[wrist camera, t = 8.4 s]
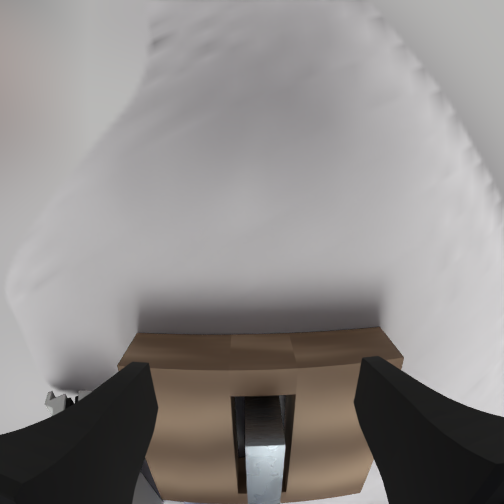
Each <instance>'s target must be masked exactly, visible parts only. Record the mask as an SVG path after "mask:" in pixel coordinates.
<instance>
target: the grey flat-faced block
mask: <svg viewBox="0 0 504 504" xmlns="http://www.w3.org/2000/svg"><path fill="white" fill-rule="evenodd" d="M245 453H246V475H247V496H248V504H280V499H281V489H282V479H283V468H284V457H285V438H284V431H283V423H282V416H281V409H280V402H279V395H272V396H245Z"/></svg>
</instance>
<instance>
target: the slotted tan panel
mask: <svg viewBox="0 0 504 504" xmlns="http://www.w3.org/2000/svg"><path fill="white" fill-rule="evenodd" d="M372 356H379V357H381V358H383V359H385V360H386V361H388V362H389V363H391V364H392V365H394V366H396V367H397V368H399V369H400V370H401V368H402V364H403V360H404V357H403V356H402V354H401V353H400V352H399V350H398V349H397V348H396V347H395V345H394V344H393V343H392V341H391V340H390V339H389V338H388V336H387V335H386V334H385V333H384V331H383V330H382V329H381V328H380V327H373V328H362V329H350V330H336V331H320V332H302V333H278V334H235V335H197V334H154V333H137V334H136V336H135V337H134V339H133V341H132V342H131V344H130V345H129V347H128V349H127V350H126V352H125V354H124V355H123V357H122V359H121V360H120V362H119V363H118V365H117V367H118V371H120V370H121V369H123V368H124V367H125V366H127V365H128V364H130V363H131V362H146V363H149V366H150V371H151V376H152V380H153V385H154V390H155V394H156V399H157V403H158V407H159V408H158V413H157V419H156V424H155V429H154V433H153V436H152V439H151V442H150V444H149V447H148V450H147V453H146V456H145V458H146V461H147V464H148V466H149V469H150V472H151V474H152V477H153V479H154V482H155V484H156V487H157V489H158V491H159V494H160V496H161V498H162V500H171V501H180V502H192V503H208V504H248V496H247V475H246V457H239V456H238V442H237V426H236V410H235V396H272V395H286V403H285V419H284V438H285V457H284V468H283V479H282V489H281V499H280V503H288V502H299V501H309V500H318V499H325V498H332V497H339V496H345V495H350V494H356V493H360V492H361V490H362V487H363V485H364V482H365V480H366V478H367V475H368V472H369V470H370V467H371V465H372V462H373V459H374V458H373V456H372V453H371V451H370V449H369V446H368V444H367V442H366V439H365V437H364V435H363V432H362V430H361V428H360V425H359V421H358V418H357V414H356V410H355V406H354V403H353V402H354V398H355V393H356V388H357V382H358V377H359V372H360V366H361V360H362V358H363V357H372Z"/></svg>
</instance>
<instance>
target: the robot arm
mask: <svg viewBox="0 0 504 504" xmlns="http://www.w3.org/2000/svg"><path fill="white" fill-rule="evenodd" d="M353 403H354V406H355V410H356V414H357V418H358V421H359V425H360V428H361V430H362V432H363V435H364V437H365V439H366V442H367V444H368V446H369V449H370V451H371V453H372V456H373V458H374V460H375V462H376V465H377V467H378V469H379V472H380V475H381V477H382V480H383V483H384V487H385V491H386V494H387V498H388V502H389V504H504V417H501V416H497V415H493V414H489V413H486V412H483V411H479V410H476V409H473V408H471V407H468V406H466V405H463V404H461V403H458V402H456V401H454V400H452V399H449V398H447V397H445V396H443V395H441V394H440V393H438V392H436V391H434V390H432V389H430V388H429V387H427V386H425V385H424V384H422V383H420V382H419V381H417V380H415V379H414V378H412V377H411V376H409V375H408V374H406V373H405V372H403V371H402V370H400V369H399V368H397V367H396V366H394V365H392V364H391V363H389V362H388V361H386V360H385V359H383V358H381V357H379V356H372V357H363V358H362V360H361V366H360V372H359V377H358V382H357V388H356V393H355V398H354V402H353ZM158 408H159V407H158V403H157V399H156V394H155V390H154V385H153V380H152V376H151V371H150V366H149V363H146V362H131V363H130V364H128V365H127V366H125V367H124V368H123V369H121V370H120V371H119V372H118V373H116V374H115V375H114V376H112V377H111V378H110V379H109V380H107V381H106V382H105V383H103V384H102V385H101V386H99V387H98V388H97V389H95V390H94V391H92V392H91V393H90V394H88V395H87V396H85V397H84V398H82V399H81V400H79V401H78V402H76V403H75V404H73V405H71V406H70V407H68V408H66V409H65V410H63V411H61V412H59V413H57V414H55V415H53V416H51V417H50V418H47V419H45V420H43V421H40V422H38V423H35V424H33V425H30V426H28V427H25V428H23V429H19V430H16V431H13V432H10V433H6V434H2V435H0V504H132V501H133V496H134V491H135V487H136V483H137V480H138V476H139V474H140V471H141V468H142V465H143V462H144V459H145V456H146V453H147V450H148V447H149V444H150V442H151V439H152V436H153V433H154V429H155V424H156V419H157V413H158ZM184 503H185V504H208V503H192V502H184Z"/></svg>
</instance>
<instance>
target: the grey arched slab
mask: <svg viewBox="0 0 504 504" xmlns="http://www.w3.org/2000/svg"><path fill="white" fill-rule="evenodd" d="M91 392H92V391H88V390H82V391H79V395H78V396H76V397H75V403H76V402H78V401H79V400H81V399H82V398H84V397H85V396H87V395H88V394H90V393H91ZM73 404H74V403H73V401H72V399H71V398H67V396H66V394H63V395H61V396H59V397H55V395H54V393H53V391H51V392H48V395H47V398H46V401H45V405H46V407H47V409H48V410H49V412H50V414H51V415H52V416H53V415H55V414H57V413H59V412H61V411H63V410H65V409H66V408H68V407H70V406H71V405H73ZM132 504H164V503H163V501H162V500H161V499H160V498H159V496H158V495H157V494H156V492H155V491H154V490H153V488H152V487H151V485H150V484H149V483H148V481H147V480H146V479H145V477H144V476H143V474H142V473H141V471H140V474H139V476H138V480H137V483H136V487H135V491H134V496H133V501H132Z"/></svg>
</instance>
